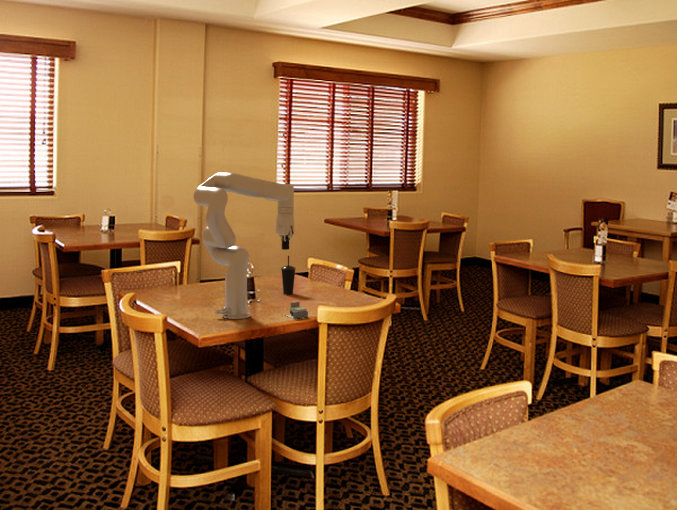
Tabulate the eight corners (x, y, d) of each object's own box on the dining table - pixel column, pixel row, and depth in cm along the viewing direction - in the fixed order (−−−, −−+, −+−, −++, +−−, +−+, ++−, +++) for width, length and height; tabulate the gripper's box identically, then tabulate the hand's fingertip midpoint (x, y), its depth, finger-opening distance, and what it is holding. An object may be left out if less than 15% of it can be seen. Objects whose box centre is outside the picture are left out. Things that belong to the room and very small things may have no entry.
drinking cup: (293, 295, 353) (293, 257, 350) (279, 294, 355) (279, 256, 352) (297, 292, 361) (297, 255, 358) (283, 292, 362) (283, 254, 359)
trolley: (288, 314, 311) (288, 302, 310) (299, 313, 314) (299, 301, 314) (296, 318, 306) (296, 305, 305) (307, 316, 309) (307, 304, 308)
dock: (294, 319, 304) (294, 313, 303) (282, 315, 312) (282, 308, 311) (307, 317, 308) (307, 311, 307) (296, 313, 316) (296, 307, 315)
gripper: (270, 209, 329) (270, 247, 331) (287, 212, 316) (286, 252, 319) (284, 209, 333) (284, 246, 336) (300, 211, 321) (300, 250, 324)
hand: (285, 249), depth 327 cm, fingers closed
